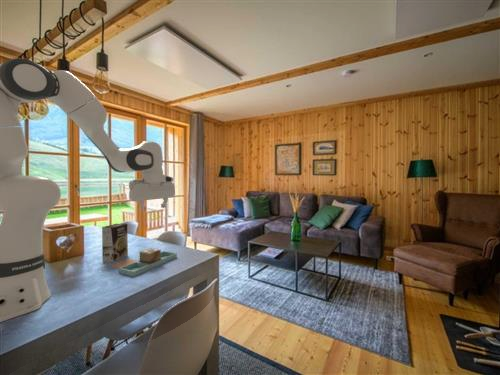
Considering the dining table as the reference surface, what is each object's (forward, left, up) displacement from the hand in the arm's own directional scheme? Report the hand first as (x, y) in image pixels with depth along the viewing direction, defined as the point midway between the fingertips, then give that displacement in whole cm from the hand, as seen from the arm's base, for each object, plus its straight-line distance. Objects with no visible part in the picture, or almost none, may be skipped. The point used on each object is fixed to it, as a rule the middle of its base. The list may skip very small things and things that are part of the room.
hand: (153, 209), depth 107 cm
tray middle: (-5, -3, -24) cm, 25 cm away
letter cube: (-5, -3, -24) cm, 24 cm away
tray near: (-13, -3, -24) cm, 27 cm away
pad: (-9, +6, -24) cm, 26 cm away
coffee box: (-6, +18, -24) cm, 31 cm away
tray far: (+3, -3, -24) cm, 24 cm away
